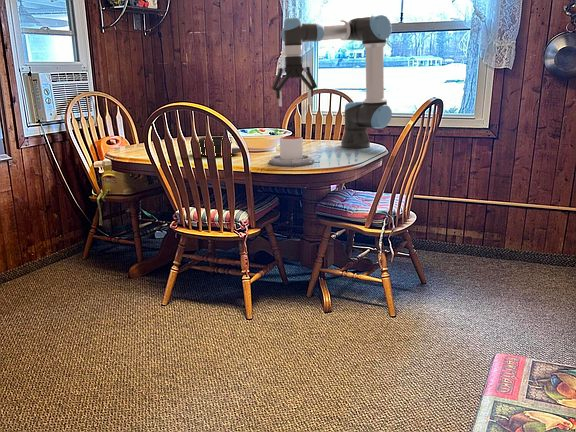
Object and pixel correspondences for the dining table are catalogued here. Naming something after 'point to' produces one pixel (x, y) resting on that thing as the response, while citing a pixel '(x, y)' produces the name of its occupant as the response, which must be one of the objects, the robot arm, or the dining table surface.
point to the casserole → (217, 145)
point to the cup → (291, 148)
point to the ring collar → (291, 161)
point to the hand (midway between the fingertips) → (295, 105)
